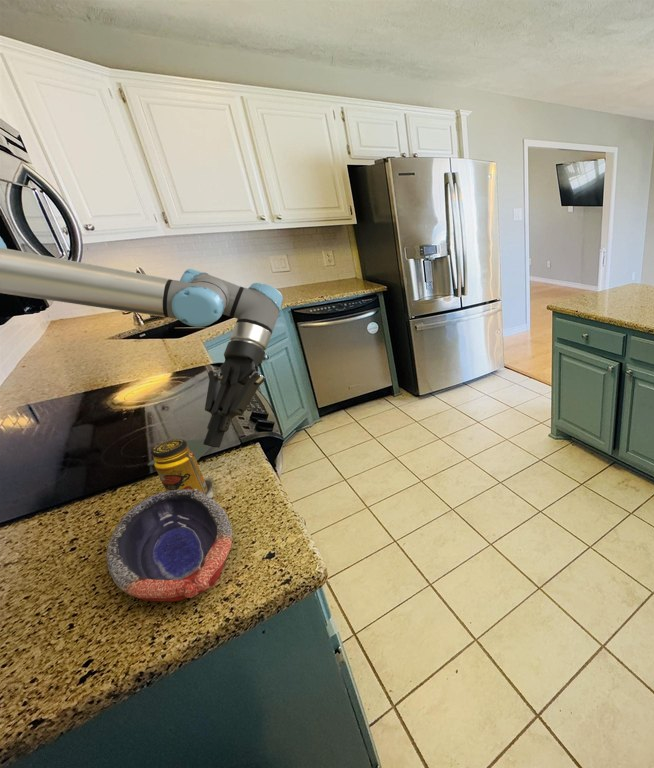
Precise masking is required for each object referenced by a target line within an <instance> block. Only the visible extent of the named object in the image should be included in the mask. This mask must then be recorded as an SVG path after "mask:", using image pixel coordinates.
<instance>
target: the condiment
mask: <svg viewBox="0 0 654 768" xmlns="http://www.w3.org/2000/svg"><path fill="white" fill-rule="evenodd" d="M186 441H187V440H184V439H179V438H178V439H172V440H171V439H170V440H167V441H163V442H162V443H159V444H158V445H155V447H153V448H152V449H151V456H153V460H155V461H156V462H155V466H154V469H155V471H156V472H157V474H158V476H159V479H160V482H161V484H162V486H163V488H164V490H165V491H170V490H182V489H186V490H193V489H197V490H198V491H200V492H202V493H204V494H205V495H207V496H208V497H210V498H213V497H214V487H213V478H212V477H213V476H212V475H210V476H207V477H206V478H204V476H203V473H202V471H201V468H200V466H199V463H198V460H197V461H196V458H195V456H194V453H193V452H192V451H190V450H189V447H188V446H187V442H186Z"/></svg>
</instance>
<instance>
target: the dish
mask: <svg viewBox="0 0 654 768" xmlns="http://www.w3.org/2000/svg"><path fill="white" fill-rule="evenodd" d="M233 534H234V533H233V528H232V524H231V522H230V518H229V516H228V515H227V513H226V511H225V510H224V508H223V507H222V505H220V503H218V502H217V501H216V500H214V499H213V497H211V498H210V497H208V496H207V495H205V494H204V493H202V492H200V491H198V490H197V489H193V490H186V489H182V490H170V491H166V490H165V491H161V492H158V493H155V494H154V495H151V496H149V497H147V498H145V499H143V500H142V501H140V502H138V503H137V504H136V505H134V506H133V507H132V508H131V509H129V511H128V512H126V513H125V514H124V515H123V517H122V518H121V519H120V521H119V522H118V523H117V525H116V526H115V528H114V530H113V531H112V534H111V536H110V539H109V541H108V544H107V548H106V566H107V570H108V573H109V575H110V577H111V579H112V581H113V582H114V584H115V585H116V586H117V587H118V589H120V591H122V592H123V593H125V594H127V595H129V596H131V597H133V598H136V599H139V600H143V601H146V602H179V601H182V600H184V599H192V598H194V597H196V596H197V595H199V594H203V593H204V592H207V590H208V591H209V590H210V589H211V588H212V587H214V586H215V584H216V583H217V582H218V580H219V577H220V575H221V573H222V571H223V569H224V567H225V564H226V563H227V561H228V558H229V556H230V554H231V549H232V545H233V541H234V539H233V538H234V537H233V536H234V535H233Z"/></svg>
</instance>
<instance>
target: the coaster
mask: <svg viewBox="0 0 654 768" xmlns="http://www.w3.org/2000/svg"><path fill="white" fill-rule="evenodd" d="M204 440H205V438H204V439H190V440H189V439H188V440H185V441H186V442H187V446H188V447H189V450H190V451H192V452H193V453H194V456H195V458H196V461H197V462H198V461H199V460H200V458H202V457H203V455H205V454H206V453H207V452H208V451H209V450H210V449H211V448H212V447H211V446H208V445H204V444H203V443H204ZM155 462H156V461H155V460H154V459H152V460H151V461H150V462H149V463H147V467H153V466H154V467H155Z"/></svg>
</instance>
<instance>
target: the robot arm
mask: <svg viewBox="0 0 654 768" xmlns="http://www.w3.org/2000/svg"><path fill="white" fill-rule="evenodd" d="M0 294H6V295H12V296H19V297H26V298H33V299H40V300H47V301H52V302H59V303H65V304H66V303H67V304H72V305H73V304H74V305H80V306H87V307H94V308H101V309H107V310H115V311H120V312H121V311H122V312H128V313H136V314H142V315H148V316H154V317H155V316H156V317H163V318H168V319H169V318H170V319H174V320H178V321H180V322H181V323H183V324H185V325H187V326H190V327H195V328H202V327H203V328H204V327H207V326H210V325H211V324H213V323H215V322H217V321H218V320H219V319H220V318H221V317H222V315H224V316H228V317H230V318H235V319H237V320H236V321H235V324H234V327H233V329H232V331H231V335H230V336H229V340H230V341H228V343H227V345H226V348H225V350H224V353H223V357H224V361H223V363H222V364H221V365H220V366H219V367H220V368H218V369H217V370H215V371H214V370H209V371H208V373H207V375H208V387H207V393H206V397H205V399H206V400H205V405H204V411H205V412H208V413H209V414H210V415H211V416H210V419H209V421H208V425H207V427H206V428H207V432H206V435H205V438H204V439H205V440H204V443H203V444H204V445H208V446H211V448H220V447H221V444H222V441H223V440H224V436H225V433H227V432H228V431H229V429H230V426H231V423H232V420H233V419H234V418H235V417H238V416H239V417H241V416H243V415H244V413H245V412H246V409H247V408H248V406H249V405H250V402H251V401H252V399H253V397H254V396H255V394H256V392H257V391H258V390H259V387H260V386H261V385H262V384H263V383H264V382H265V381H266V377H265V376H264V375H262V374H260V372H259V367H261V366H262V364H263V361H264V359H265V355H266V351H267V349H268V346H269V343H270V341H271V337H272V335H273V332H274V329H275V326H276V323H277V321H278V318H279V316H280V313H281V309H282V305H283V302H284V296H283V294H282V293H281V292H280V290H278V289H277V288H275V287H274V286H272V285H270V284H267V283H261V282H254V283H251V284H250V286H249V287H248V288H247V287H244V286H240V285H238V284H235V283H232V282H230V281H227V280H224V279H222V278H219V277H217V276H215V275H211V274H209V273H207V272H203V271H200V270H197V269H194V268H187V269H186V270H184V272H183V273H182V275H181V277H180V279H179V280H178V279H177V280H176V279H171V278H166V277H161V276H156V275H150V274H144V273H139V272H134V271H129V270H123V269H119V268H113V267H108V266H103V265H97V264H91V263H86V262H80V261H75V260H69V259H64V258H59V257H53V256H49V255H44V254H38V253H34V252H33V253H32V252H27V251H21V250H16V249H12V248H11V249H10V248H8V247H7V245H6V243H5V242H4V239H3V238H2V237H1V236H0Z"/></svg>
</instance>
